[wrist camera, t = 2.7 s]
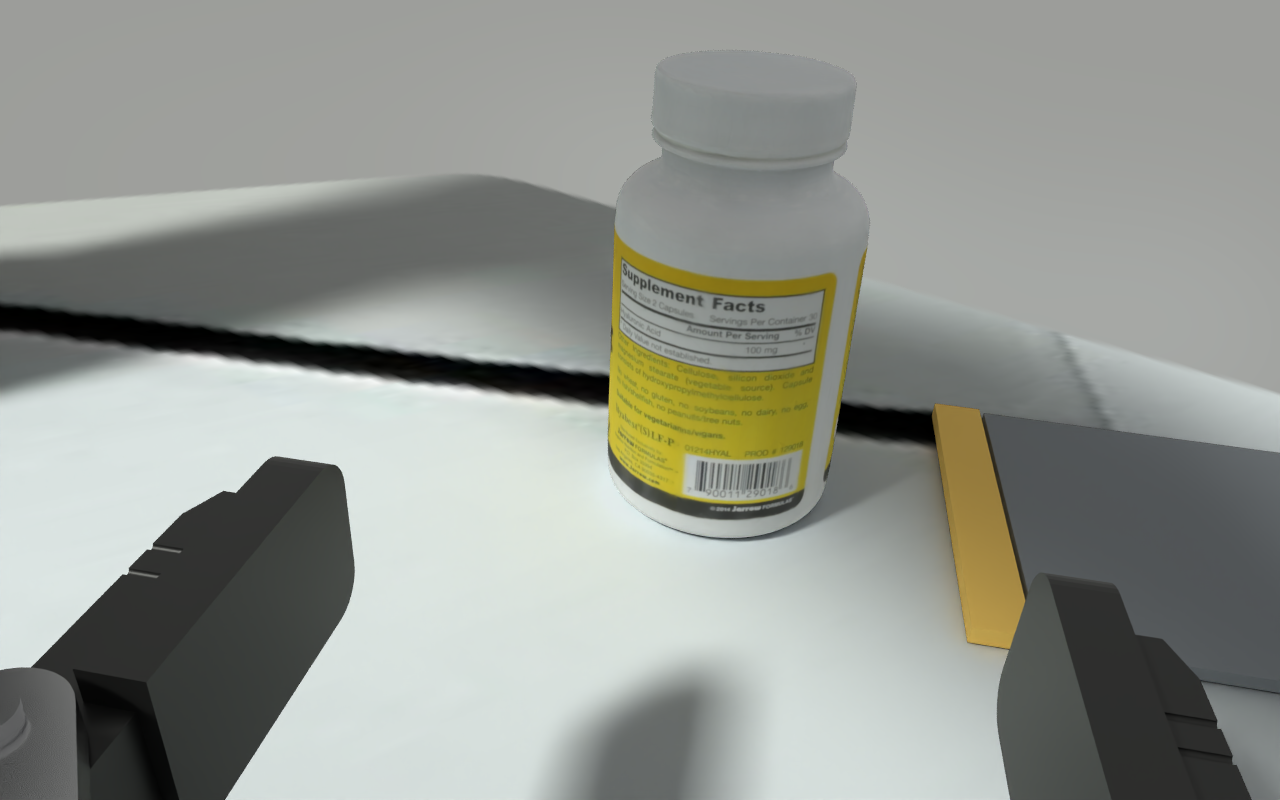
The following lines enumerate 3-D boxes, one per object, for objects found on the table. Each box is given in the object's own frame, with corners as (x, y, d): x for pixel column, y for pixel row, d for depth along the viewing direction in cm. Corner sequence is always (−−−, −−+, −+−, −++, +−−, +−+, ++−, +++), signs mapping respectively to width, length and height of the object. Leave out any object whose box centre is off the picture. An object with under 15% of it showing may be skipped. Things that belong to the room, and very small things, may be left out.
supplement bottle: (696, 398, 27) (733, 32, 22) (864, 479, 24) (949, 77, 20) (557, 475, 24) (564, 60, 19) (734, 580, 21) (798, 121, 16)
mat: (967, 642, 20) (972, 627, 19) (932, 415, 27) (934, 403, 27) (1530, 734, 18) (1542, 719, 18) (1327, 469, 26) (1334, 456, 26)
